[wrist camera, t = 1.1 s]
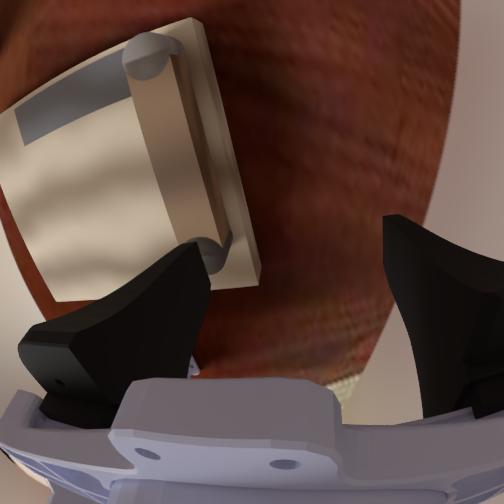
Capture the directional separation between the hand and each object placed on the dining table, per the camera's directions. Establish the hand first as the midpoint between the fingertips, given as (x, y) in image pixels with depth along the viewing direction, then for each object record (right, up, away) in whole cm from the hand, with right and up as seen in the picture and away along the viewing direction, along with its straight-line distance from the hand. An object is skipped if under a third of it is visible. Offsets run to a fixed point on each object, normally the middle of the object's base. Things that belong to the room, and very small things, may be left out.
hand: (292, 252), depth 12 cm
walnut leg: (-5, +6, +6) cm, 10 cm away
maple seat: (-12, +5, +11) cm, 17 cm away
